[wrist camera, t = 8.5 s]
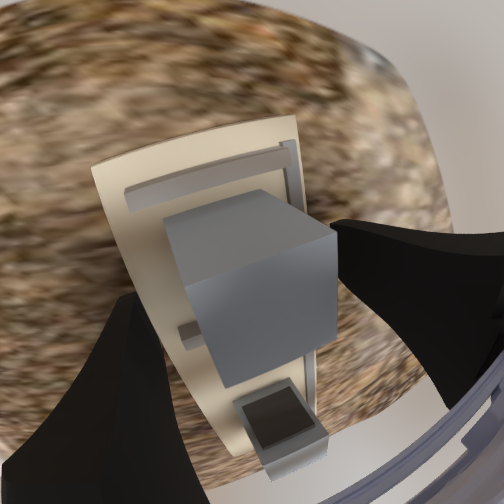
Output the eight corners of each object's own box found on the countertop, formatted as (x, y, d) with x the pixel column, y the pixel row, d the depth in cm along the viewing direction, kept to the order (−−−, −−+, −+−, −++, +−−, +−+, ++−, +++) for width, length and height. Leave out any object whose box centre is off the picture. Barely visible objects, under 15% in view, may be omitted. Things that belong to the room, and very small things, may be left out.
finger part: (274, 278, 14) (336, 346, 9) (193, 309, 13) (228, 395, 8) (260, 188, 11) (336, 232, 7) (162, 218, 10) (184, 286, 6)
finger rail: (309, 412, 23) (344, 461, 18) (229, 446, 21) (255, 503, 16) (281, 114, 12) (387, 119, 6) (95, 163, 10) (52, 203, 4)
